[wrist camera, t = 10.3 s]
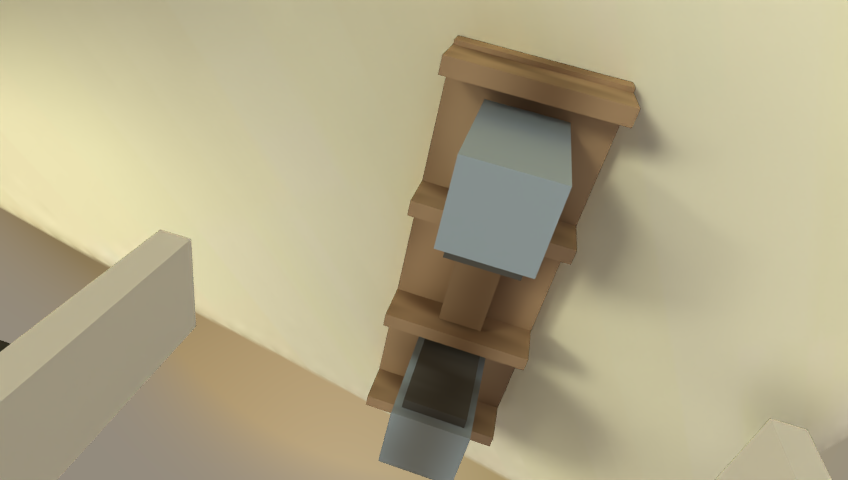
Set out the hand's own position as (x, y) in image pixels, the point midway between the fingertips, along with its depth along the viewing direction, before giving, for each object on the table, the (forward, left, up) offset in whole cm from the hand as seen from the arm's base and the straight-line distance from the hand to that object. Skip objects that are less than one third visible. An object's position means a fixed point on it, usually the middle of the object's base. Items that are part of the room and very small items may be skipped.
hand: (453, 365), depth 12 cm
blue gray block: (0, 0, -15) cm, 15 cm away
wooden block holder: (0, -7, -16) cm, 18 cm away
